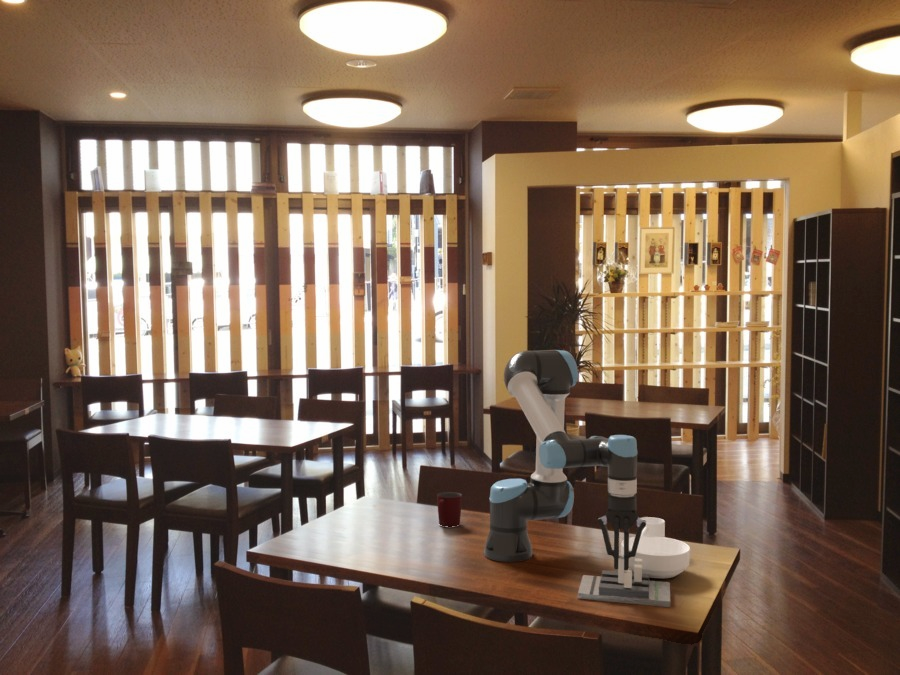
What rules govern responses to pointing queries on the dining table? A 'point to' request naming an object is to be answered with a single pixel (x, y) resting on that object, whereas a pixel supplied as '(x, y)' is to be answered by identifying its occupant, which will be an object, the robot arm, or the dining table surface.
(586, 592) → the panel
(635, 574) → the block
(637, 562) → the breaker far
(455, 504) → the mug
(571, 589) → the dining table surface
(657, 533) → the mug
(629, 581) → the breaker near
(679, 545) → the bowl
